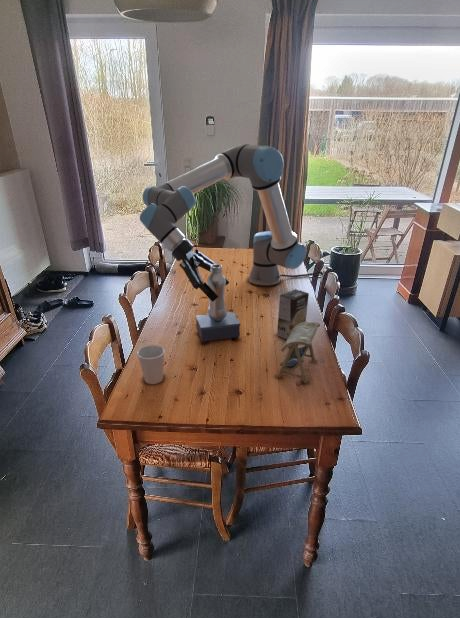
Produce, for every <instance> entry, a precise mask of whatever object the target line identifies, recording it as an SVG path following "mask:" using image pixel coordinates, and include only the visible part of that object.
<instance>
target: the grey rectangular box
mask: <svg viewBox="0 0 460 618" xmlns="http://www.w3.org/2000/svg"><path fill="white" fill-rule="evenodd" d="M226 312H227V314H226V318H225V319H224V320H222V321H213V320H211V319H210V318H209V315H208V313H207V314H197V315H194V316H195V322H196V331H197V335H198V336H199V338H200V341H201V344H202V345H207V342H208V341H217V340H223V339H224V340H225V339H231V338H232V339H233V341H239V338H240V335H241V334H240V332H241V331H240V330H241V329H240V328H241V322H240V320H239V319H238V317H237V316H236V314H235V312H234V311H226Z"/></svg>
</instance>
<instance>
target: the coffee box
mask: <svg viewBox="0 0 460 618" xmlns="http://www.w3.org/2000/svg"><path fill="white" fill-rule="evenodd" d="M309 296H310V293H309V292H306V291H303V290H300V289H296V288H295V289H292V290H290V291H287V292H284V293H281V294H279V302H278V315H277V328H276V329H277V330H276V336H278V337H281V338H282V339H285V340H287V339H288V338H289V336H290V334H291V332H292V330H293V328H294V327H295V326H296V325H298V324H300V323H302V322H306V321H307V313H308V305H309Z"/></svg>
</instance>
